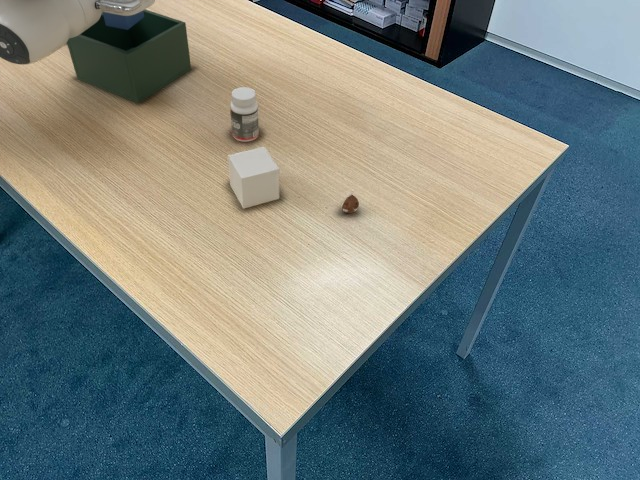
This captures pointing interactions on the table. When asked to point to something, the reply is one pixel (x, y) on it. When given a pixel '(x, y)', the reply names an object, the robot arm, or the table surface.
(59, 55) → the table surface
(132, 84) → the waste bin
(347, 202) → the chocolate
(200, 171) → the table surface
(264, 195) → the white cube
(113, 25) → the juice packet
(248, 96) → the pill bottle
